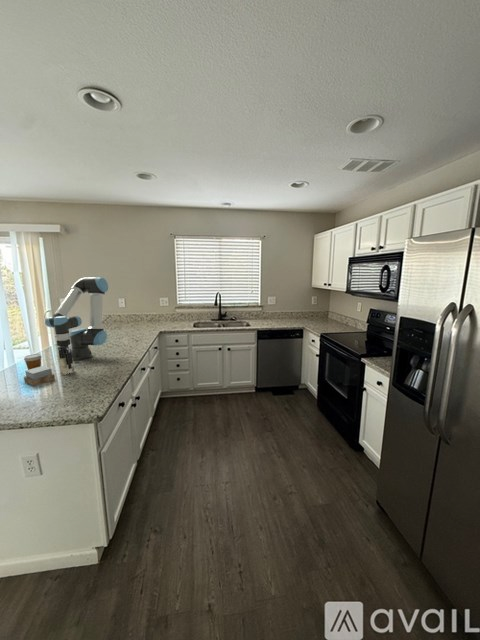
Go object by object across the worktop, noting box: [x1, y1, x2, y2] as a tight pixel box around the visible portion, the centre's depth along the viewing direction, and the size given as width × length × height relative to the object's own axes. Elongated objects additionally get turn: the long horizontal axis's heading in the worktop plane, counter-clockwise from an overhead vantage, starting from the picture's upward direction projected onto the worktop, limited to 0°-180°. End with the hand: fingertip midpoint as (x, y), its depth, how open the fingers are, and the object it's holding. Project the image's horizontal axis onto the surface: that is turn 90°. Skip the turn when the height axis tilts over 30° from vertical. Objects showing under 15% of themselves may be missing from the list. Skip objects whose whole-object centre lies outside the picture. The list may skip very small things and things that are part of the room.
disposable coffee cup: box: [23, 353, 42, 370], centre depth 178 cm, size 10×10×12 cm
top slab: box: [25, 365, 53, 380], centre depth 164 cm, size 10×10×4 cm
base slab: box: [23, 373, 56, 387], centre depth 165 cm, size 12×12×4 cm
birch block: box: [58, 358, 75, 376], centre depth 178 cm, size 6×6×10 cm
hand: (67, 371), depth 178 cm, fingers closed on birch block, 6 cm apart
